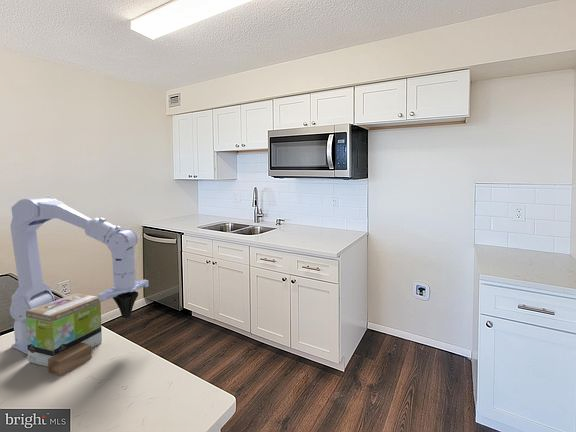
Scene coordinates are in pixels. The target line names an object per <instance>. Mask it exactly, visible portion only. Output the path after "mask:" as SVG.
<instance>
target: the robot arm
mask: <svg viewBox="0 0 576 432" xmlns="http://www.w3.org/2000/svg"><path fill="white" fill-rule="evenodd" d="M10 210H11V214H12V219H11V221H10V222H11V223H10V234H11V240H12V241H11V242H12V246H13V254H14V261H15V270H16V273H17V274H16V276H17V281H18V287H17V289H16V290H15V292H14V293H13V294H12V295H11V297H10V298H11V303H10V306H9V313H10V316H11V317H12V318H13V319H14V323H13V333H14V335H13V336H14V343H13V344H11V347H12V348H14V349H15V350H18V351H20V352H22V353H24V354H26V355H28V346H27V325H26V311H27V310H29V309H32V308H35V307H38V306H41V305H44V304H47V303H50V302H53V301H55V300H56V299H55V296H54V293H52V290H51V286H50V285H49V284H47V283H45V282H44V280H43V278H44V277H43V272H42V271H43V270H42V265H41V258H40V251H39V250H40V249H39V243H38V236H37V230H38V229H39V228H41V226H43V224H45V223H46V222H48V221H50V220H54V219H58V220H60V221H63V222H66V223H67V224H70V225H73V226H75V227H78V228H80V229H82V230H84V233H85V235H86V236H87V237H89V238H92V239H94V240H96V241H98V242H100V243H102V244H104V245H107V248H108V249H109V251H110V252H111V257H112V258H111V259H112V278H113V287H111V288H109V289H107V290H105V291H102V292H100V293H98V296H97V297H99V301H101V302H103V303H104V302H107V300H109V299H112V300H114V302H115V303H116V305H117V307H118V309H119V311H120V314H121V318H123V319H129V318H131V315H132V311H133V307H134V305H135V302H136V300H137V298H138V297H139V292H138V290H140V289H142V288H148V287H149V285H150V284H149V280H148V279H141V280H136V260H135V259H136V258H135V246H136V245H137V244H138V235H137V233H136V232H135V231H133V230H132V229H131V228H124V229H123V228H122V226H120V225H115V224H112V223H111V222H108V221H107V218H104V217H103V216H102V217H94V218H90V217H89V216H86V215H85V214H83V213H81V212H79V211H78V210H76V209H74V208H72V207H70V206H68V205H67V204H65V203H64V202H63V201H62V200H58V199H56V198H54V197H50V196H47V197H40V198H39V197H38V198H37V197H36V198H22V199H19V200H18V201H17V202H16V203H14V204H13V206H11V209H10Z"/></svg>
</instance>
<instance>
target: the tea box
mask: <svg viewBox="0 0 576 432" xmlns="http://www.w3.org/2000/svg"><path fill="white" fill-rule="evenodd" d="M101 302H102V301H99V296H95V295H89V294H82V293H73V294H70V295H67V296H64V297H61V298H58V299H55V301H53V302H50V303H47V304H44V305H41V306H38V307H35V308H32V309H29V310H27V311H26V325H27V346H28V354H27V360H28V361H27V362H29V363H32V364H36V365H39V366H44V367H47V368H48V359H49V358H50V357H52V356H54V355H56V354H58V353H60V352H62V351H64V350H66V349H68V348H70V347H72V346H74V345H76V344H78V343H80V342H82V343H86V344H90V345H91V349H92V348H94V347H95V346H98V345H100V344H101V343H102V335H103V333H102V308H101V307H102V306H101V304H102V303H101Z"/></svg>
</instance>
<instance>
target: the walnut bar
mask: <svg viewBox="0 0 576 432" xmlns="http://www.w3.org/2000/svg"><path fill="white" fill-rule="evenodd" d="M92 358H93V351H92V348H91V345H90V344H86V343H82V342H80V343H78V344H76V345H74V346H72V347H70V348H68V349H66V350H64V351H62V352H60V353H58V354H56V355H54V356H52V357H50V358H49V359H48V367H47V368H48V374H52V375H55V376H58V377H61V376H62V375H64V374H66V373H68V372H69V371H71V370H74V369H75V368H76V367H78V366H80V365H82V364H83V363H85V362H87V361H89V360H90V359H92Z"/></svg>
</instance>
